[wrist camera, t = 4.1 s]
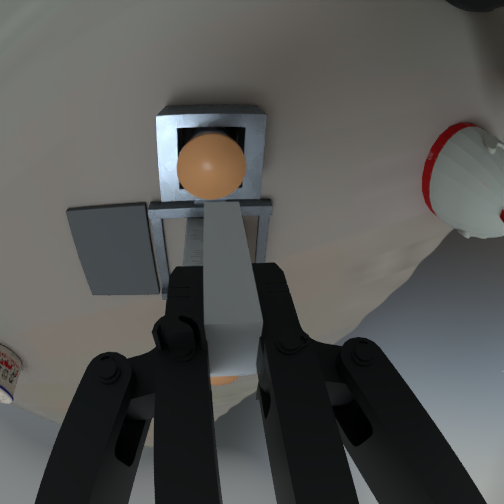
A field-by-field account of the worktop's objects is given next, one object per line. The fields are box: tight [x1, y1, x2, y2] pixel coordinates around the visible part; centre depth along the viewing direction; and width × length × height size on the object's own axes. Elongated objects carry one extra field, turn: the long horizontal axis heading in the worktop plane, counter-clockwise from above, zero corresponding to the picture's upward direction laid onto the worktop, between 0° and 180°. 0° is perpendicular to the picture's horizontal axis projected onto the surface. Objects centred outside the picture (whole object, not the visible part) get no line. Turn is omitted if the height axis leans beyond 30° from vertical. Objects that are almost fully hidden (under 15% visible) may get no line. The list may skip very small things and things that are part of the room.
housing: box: [148, 105, 273, 300], centre depth 30 cm, size 12×31×5 cm, turn 177°
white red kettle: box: [422, 123, 504, 239], centre depth 25 cm, size 14×14×15 cm
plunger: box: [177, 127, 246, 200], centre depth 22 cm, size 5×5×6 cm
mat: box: [66, 203, 160, 295], centre depth 31 cm, size 9×12×1 cm
